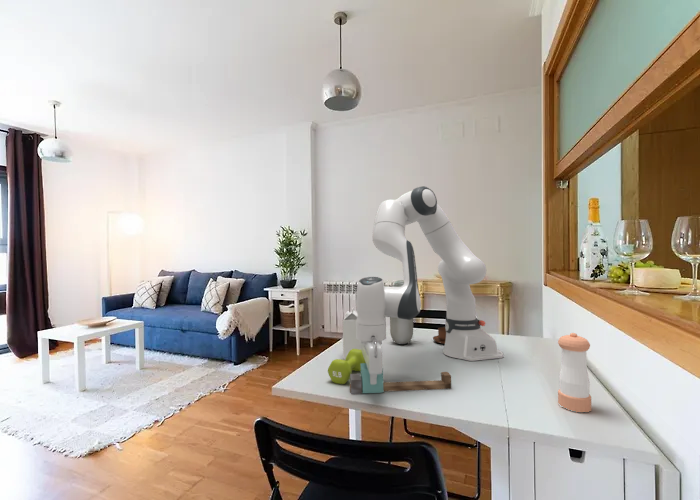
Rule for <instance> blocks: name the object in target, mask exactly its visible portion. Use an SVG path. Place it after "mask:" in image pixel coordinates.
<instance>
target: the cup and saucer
mask: <svg viewBox="0 0 700 500" xmlns="http://www.w3.org/2000/svg"><path fill="white" fill-rule="evenodd" d="M432 339H433V341H434V342H436V343H438V344H441V345H445V340H446V329H445V326H441V327H438V328H437V335H434V336H433V337H432Z"/></svg>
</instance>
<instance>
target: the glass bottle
mask: <svg viewBox="0 0 700 500" xmlns="http://www.w3.org/2000/svg"><path fill="white" fill-rule="evenodd" d="M403 285H404V279H403V280H402V279H401V280H397V281H395V282H394V283H393V284H392V287H401V286H403ZM389 332H390V333H389V334H390V336H391V339H392V340H393V342H394V343H395V344H398V345H405V344H408V343H410V341H412V339H413V336H414V318H413V319H411V320H406V319H400V318H394V317H389Z"/></svg>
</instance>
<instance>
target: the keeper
mask: <svg viewBox="0 0 700 500" xmlns="http://www.w3.org/2000/svg"><path fill="white" fill-rule="evenodd" d="M360 376H361V379H362V394H379V393H380V394H381V393H384V391H383V382H384V370H383V371H382V374H377V383H376V384H370V373H369V371H368V368H367V365H366V363H361V371H360Z"/></svg>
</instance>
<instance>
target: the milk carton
mask: <svg viewBox="0 0 700 500" xmlns="http://www.w3.org/2000/svg"><path fill="white" fill-rule="evenodd" d="M356 320H357V310H356V309H355V307H354V306H353V307H352V309H351V311H349V310H348V311H346V312H345V313H344V318H343V320H342V356H343V357H342V358H343V359H342V360H345V359H346V356H347V354H348V353H349V351H350V350H352V349H360V350H361V341H360V340H358V339H357V338H356Z"/></svg>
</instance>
